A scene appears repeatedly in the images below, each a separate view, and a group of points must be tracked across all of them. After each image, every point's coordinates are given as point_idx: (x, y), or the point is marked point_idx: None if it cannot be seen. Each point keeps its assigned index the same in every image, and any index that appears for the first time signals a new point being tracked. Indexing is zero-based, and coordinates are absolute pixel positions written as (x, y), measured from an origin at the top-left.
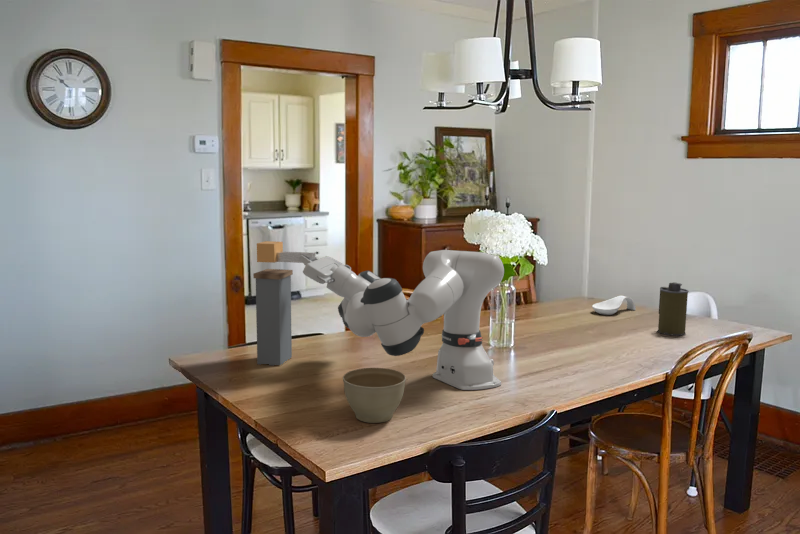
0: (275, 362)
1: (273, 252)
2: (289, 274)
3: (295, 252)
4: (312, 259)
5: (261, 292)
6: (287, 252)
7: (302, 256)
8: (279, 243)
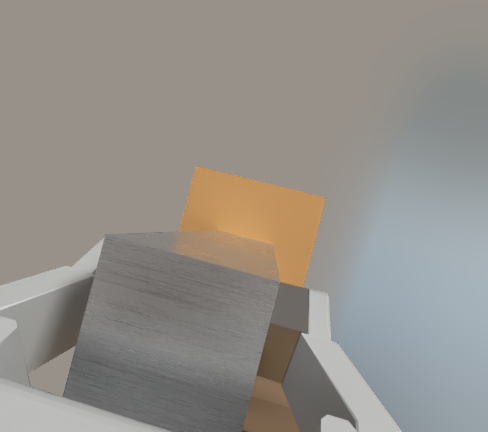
0: None
1: (184, 215)
2: (256, 424)
3: (246, 245)
4: (91, 345)
5: None
6: (233, 237)
7: (97, 246)
8: (272, 190)
